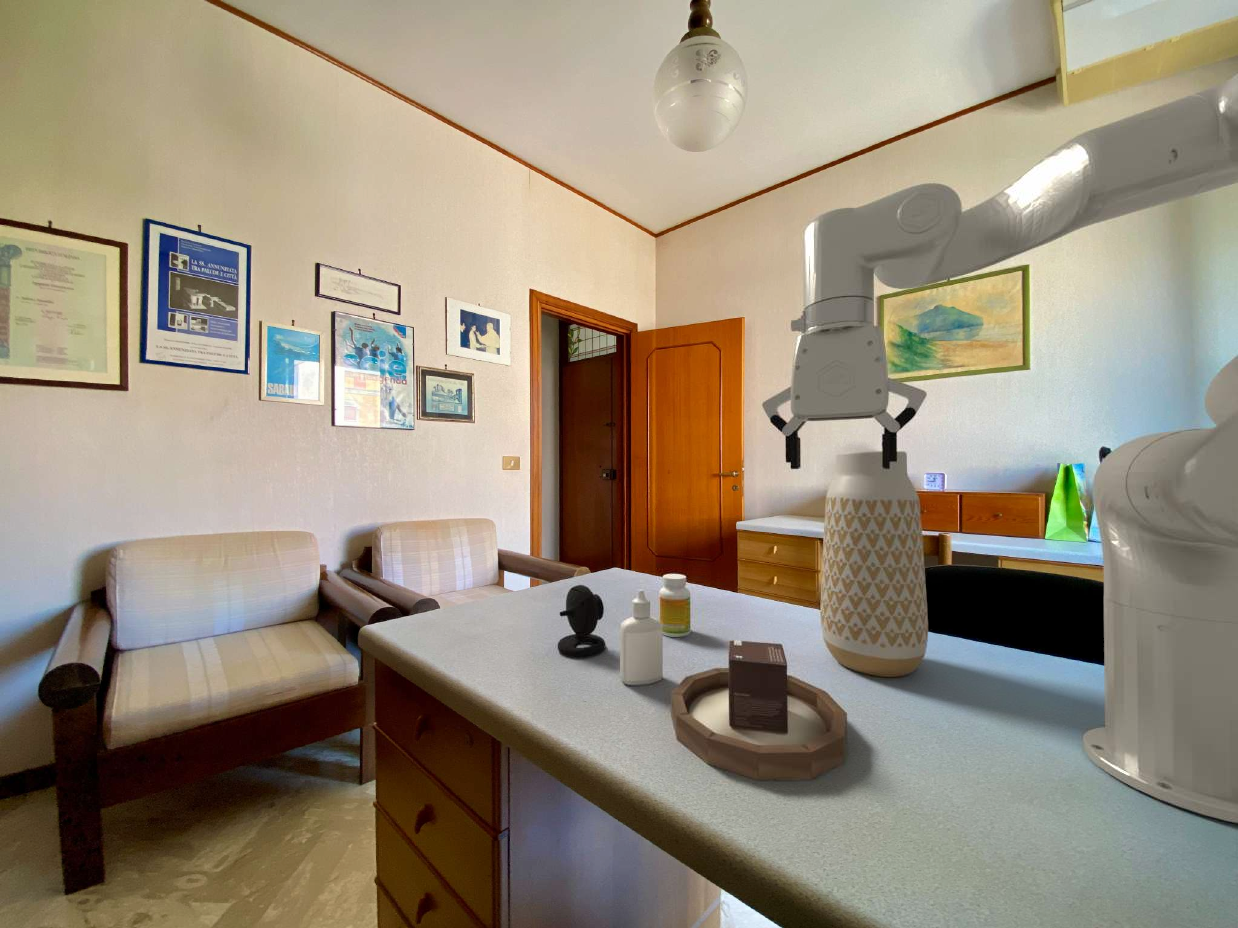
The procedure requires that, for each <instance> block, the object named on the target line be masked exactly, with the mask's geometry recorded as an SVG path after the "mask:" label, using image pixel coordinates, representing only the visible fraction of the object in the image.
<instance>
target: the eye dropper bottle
mask: <svg viewBox="0 0 1238 928" xmlns="http://www.w3.org/2000/svg"><path fill="white" fill-rule="evenodd" d="M631 610H632V611H631V614H632V616H631V617H630V616H629V618H627V619H624V620H623V621H622V622H621V624H620V629H619V631H620V632H619V669H620V670H619V671H620V672H619V675H620V676H619V677H620V679H621V681H622V682H623V683H624V684H625V685H628V686H644V685H651V684H654V683H657V682H660V681H661V680H662V679H663V675H664V673H663V671H664V669H663V668H664V667H663V665H664V663H663V661H664V659H663V657H664V656H663V654H664V653H663V634H662V624H661V622H660V621H659V618H656V617H653V616H651V600H650V599H648V598H647V597H646V595H645V591H644V589H638V591H637V597H636V598H634V599H632V600H631Z"/></svg>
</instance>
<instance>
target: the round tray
mask: <svg viewBox="0 0 1238 928" xmlns="http://www.w3.org/2000/svg"><path fill="white" fill-rule="evenodd" d="M787 703H788V733H787V734H781V733H774V732H766V731H758V730H750V729H741V728H734V727H730V726H729V667H714V668H712V669H708V670H705V671H701V672H697V673H695V674H691V675H688V676H686V677H684V678H683V679H682V680H681V682H679V683H678V685H677V686H676V687H675V688H674V689H673V690H672V691H671V693H670V716H671V717H670V718H671V721H672V724H673V729H674V733H675V738H676V740H677V741H679V742H680V743H681V744H682V745H683V746H685V747H686V748H687V749H688V750H690V751H691V752H692V753H693V754H695V755H696V756H697V757H698V758H700V760H702V761H704V762H705V763H706V764H707V765H709V766H711V767H716V768H719V769H723V770H724V771H729V772H731V773H735V774H738V775H741V776H744V777H747V778H749V779H754V780H756V781H813V780H814V779H816V778H818V777H820V776H822V775H824V774H826V773H827V772H829V771H831V770H832V769H835V768H836V767H838V766H841V765H842V764H844V763H845V760H846V759H845V757H846V749H847V742H848V713H847V712H846V711H845V710H844V709H843V707H841V705H839V703H838V702H837V701H836V700H835V699H834V698H833V697H832V696H831V695H830V694H829V693H828V692H827V691H826V690H823V689H822V688H819V687H817V686H814V685H813V684H811V683H808V682H806V681H804V680H803V679H802V680H801V679H800V678H797V677H796V676H794V675H793V676H792V675H789V674H787Z"/></svg>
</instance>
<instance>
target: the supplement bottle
mask: <svg viewBox="0 0 1238 928" xmlns="http://www.w3.org/2000/svg"><path fill="white" fill-rule="evenodd" d="M662 584H663V587H661V589H660V590H659V593H658V607H659V609H658V620H659V621H660V622H661V624H662V636H665V637H670V638H682V637H686V636H689V635H690V633H691V591H690V589H688V588H687V587H686V586H687V576H686V575H685V574H679V573H667V574H664V575H663V576H662Z"/></svg>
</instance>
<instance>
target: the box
mask: <svg viewBox="0 0 1238 928" xmlns="http://www.w3.org/2000/svg"><path fill="white" fill-rule="evenodd" d="M728 668H729V726H730V727H734V728H741V729H750V730H758V731H766V732H774V733H781V734H787V733H788V703H787V675H788V662H787V658H786V655H785V650H784V647H783V644H782V643H772V642H760V641H759V642H758V641H749V640H729V641H728Z"/></svg>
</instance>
